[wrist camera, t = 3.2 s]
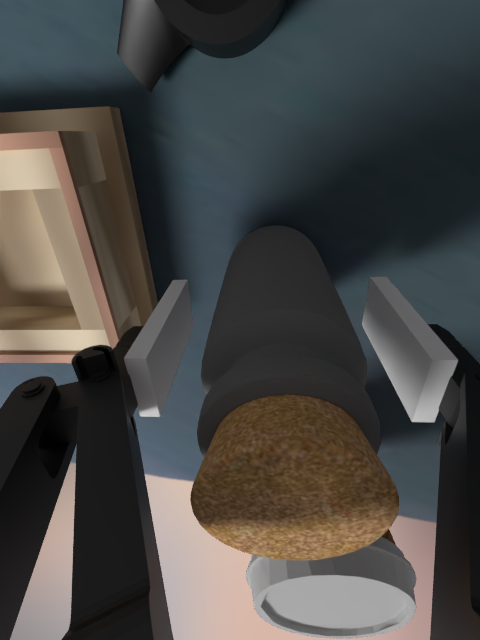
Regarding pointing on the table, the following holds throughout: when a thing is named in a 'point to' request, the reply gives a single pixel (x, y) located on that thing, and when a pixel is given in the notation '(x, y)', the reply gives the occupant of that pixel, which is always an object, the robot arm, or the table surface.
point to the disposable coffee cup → (336, 592)
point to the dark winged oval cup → (190, 31)
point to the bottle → (287, 412)
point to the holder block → (68, 235)
